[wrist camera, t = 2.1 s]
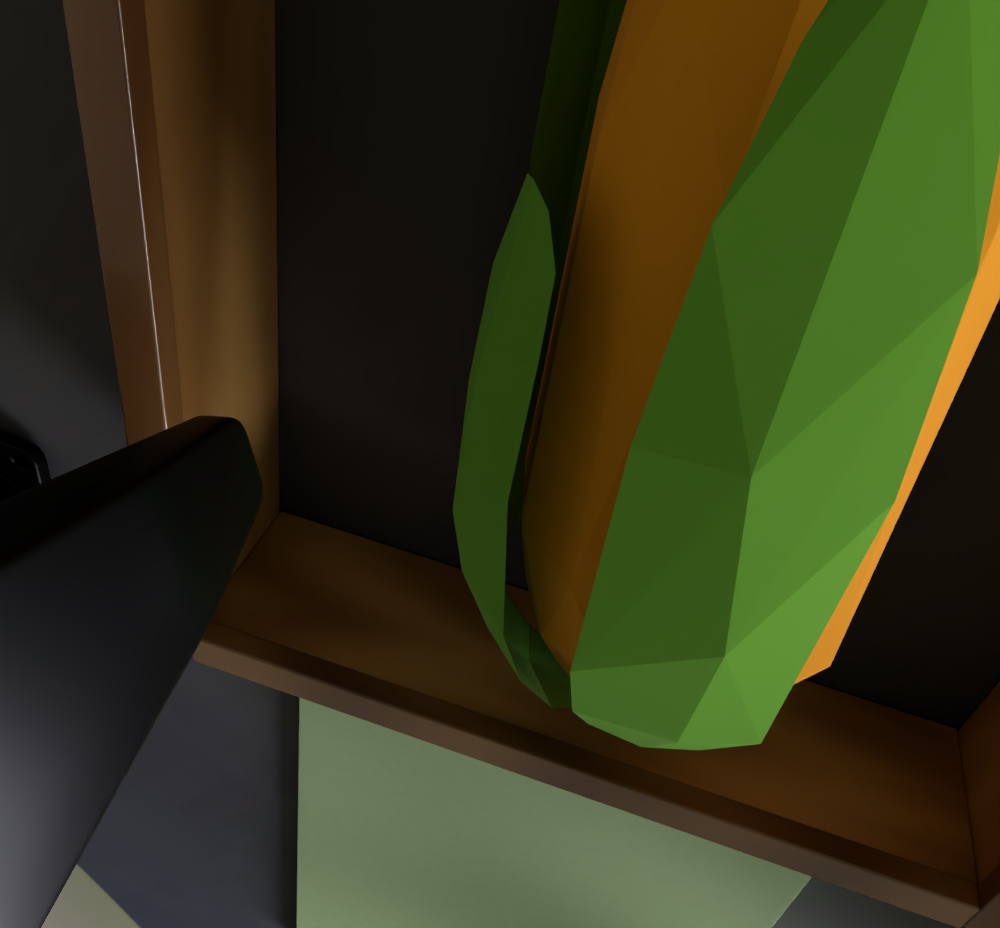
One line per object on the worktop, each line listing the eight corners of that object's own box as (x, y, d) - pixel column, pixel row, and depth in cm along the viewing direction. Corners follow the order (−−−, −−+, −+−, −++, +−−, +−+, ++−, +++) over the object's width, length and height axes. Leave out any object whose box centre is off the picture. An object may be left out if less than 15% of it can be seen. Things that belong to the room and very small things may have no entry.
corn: (387, 816, 16) (483, -1997, 3) (483, 532, 22) (648, -878, 9) (810, 925, 15) (2983, -2197, 3) (791, 600, 21) (1428, -836, 8)
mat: (300, 938, 40) (295, 949, 40) (307, 570, 25) (299, 583, 24) (648, 1072, 38) (646, 1085, 38) (889, 762, 23) (890, 779, 22)
